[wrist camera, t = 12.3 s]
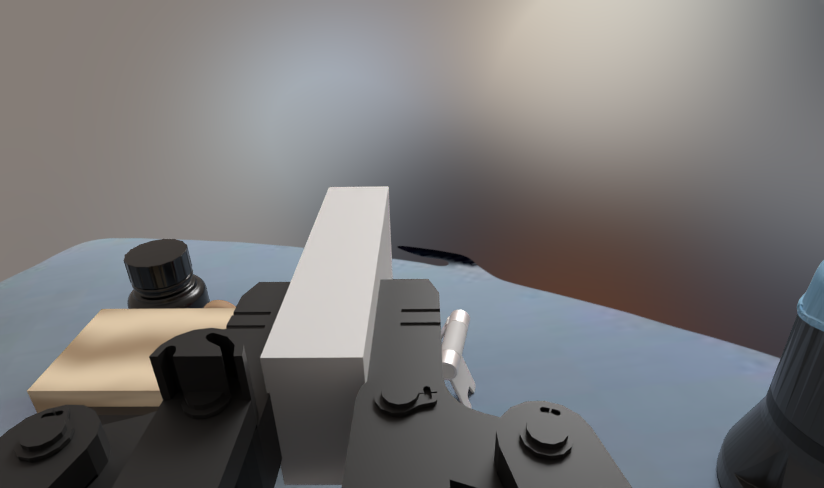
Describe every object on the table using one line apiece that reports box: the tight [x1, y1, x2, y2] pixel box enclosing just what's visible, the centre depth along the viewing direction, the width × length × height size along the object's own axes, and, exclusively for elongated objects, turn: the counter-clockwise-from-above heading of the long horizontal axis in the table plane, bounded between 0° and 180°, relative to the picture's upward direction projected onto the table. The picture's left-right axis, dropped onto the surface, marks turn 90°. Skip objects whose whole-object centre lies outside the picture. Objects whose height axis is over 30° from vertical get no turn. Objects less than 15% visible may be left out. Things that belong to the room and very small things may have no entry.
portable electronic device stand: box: [441, 310, 475, 409], centre depth 56 cm, size 9×8×8 cm
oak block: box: [27, 308, 235, 425], centre depth 45 cm, size 11×14×15 cm
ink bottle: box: [124, 239, 210, 309], centre depth 65 cm, size 10×9×12 cm
